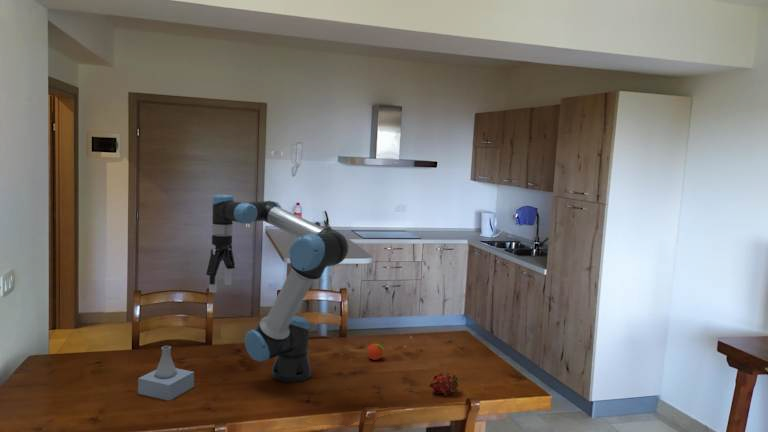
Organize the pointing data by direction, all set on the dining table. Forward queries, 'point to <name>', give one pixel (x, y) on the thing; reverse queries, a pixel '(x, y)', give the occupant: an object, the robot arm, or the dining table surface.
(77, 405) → the dining table surface
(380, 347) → the clementine
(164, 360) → the flask
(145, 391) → the grey block
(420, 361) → the dining table surface
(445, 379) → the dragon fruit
